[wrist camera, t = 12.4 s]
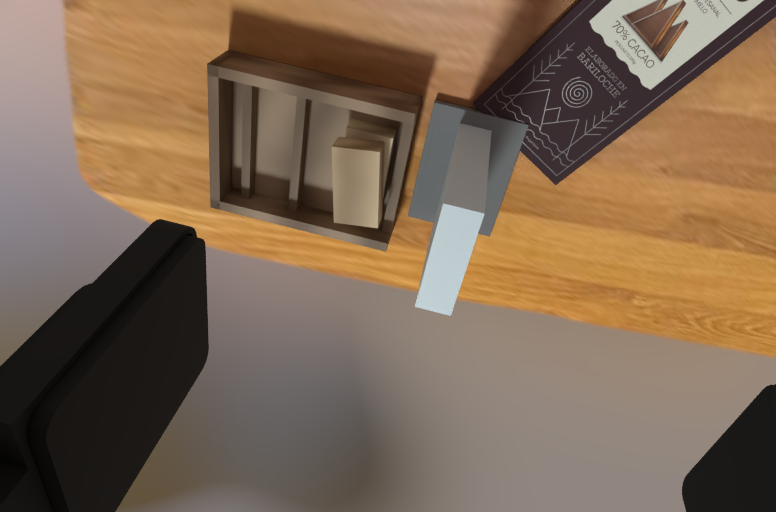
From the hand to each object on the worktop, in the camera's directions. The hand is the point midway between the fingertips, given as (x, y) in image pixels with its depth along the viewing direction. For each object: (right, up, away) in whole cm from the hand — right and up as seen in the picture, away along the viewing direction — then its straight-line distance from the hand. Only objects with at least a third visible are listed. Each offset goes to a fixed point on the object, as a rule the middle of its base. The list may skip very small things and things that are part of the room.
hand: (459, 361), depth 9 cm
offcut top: (-3, +8, +33) cm, 34 cm away
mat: (+5, +9, +34) cm, 36 cm away
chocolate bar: (+14, +16, +28) cm, 35 cm away
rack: (-7, +11, +36) cm, 38 cm away
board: (+5, +8, +34) cm, 35 cm away
